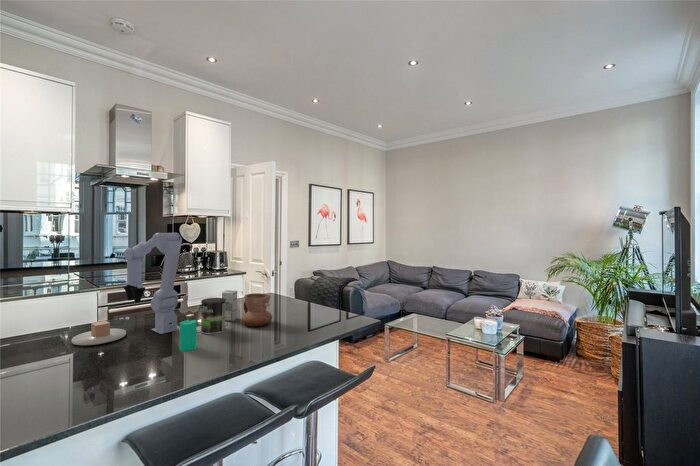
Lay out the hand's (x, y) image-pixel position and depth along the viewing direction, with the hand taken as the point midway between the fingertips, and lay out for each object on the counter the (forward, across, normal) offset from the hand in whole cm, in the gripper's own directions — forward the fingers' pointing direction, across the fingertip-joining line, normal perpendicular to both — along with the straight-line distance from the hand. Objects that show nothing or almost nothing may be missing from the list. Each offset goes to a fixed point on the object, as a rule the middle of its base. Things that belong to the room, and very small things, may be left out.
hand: (134, 301), depth 160 cm
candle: (+11, +52, -1) cm, 53 cm away
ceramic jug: (+11, +46, +36) cm, 59 cm away
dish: (+10, +14, -18) cm, 25 cm away
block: (+9, +14, -18) cm, 24 cm away
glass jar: (+11, +40, +17) cm, 45 cm away
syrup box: (+11, +30, +32) cm, 45 cm away
